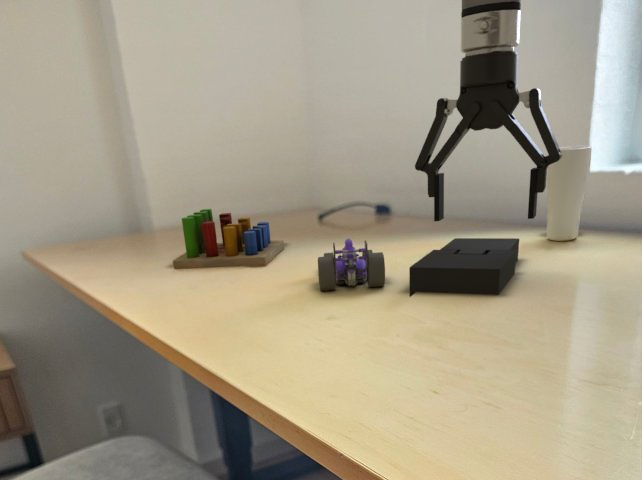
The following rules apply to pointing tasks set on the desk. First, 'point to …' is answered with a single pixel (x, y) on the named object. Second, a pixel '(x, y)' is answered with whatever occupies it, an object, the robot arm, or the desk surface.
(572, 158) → the drinking glass
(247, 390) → the desk surface
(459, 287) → the notch pad
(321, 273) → the toy race car
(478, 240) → the tab pad
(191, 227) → the peg board
